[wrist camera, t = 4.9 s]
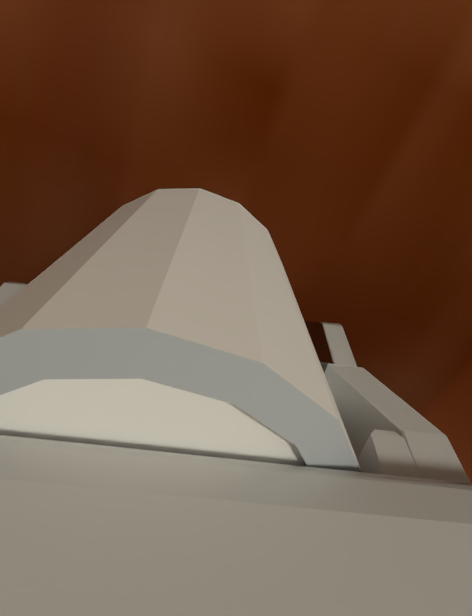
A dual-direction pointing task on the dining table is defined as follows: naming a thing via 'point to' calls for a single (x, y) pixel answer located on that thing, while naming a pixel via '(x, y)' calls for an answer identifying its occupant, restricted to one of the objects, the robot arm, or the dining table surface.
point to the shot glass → (170, 342)
